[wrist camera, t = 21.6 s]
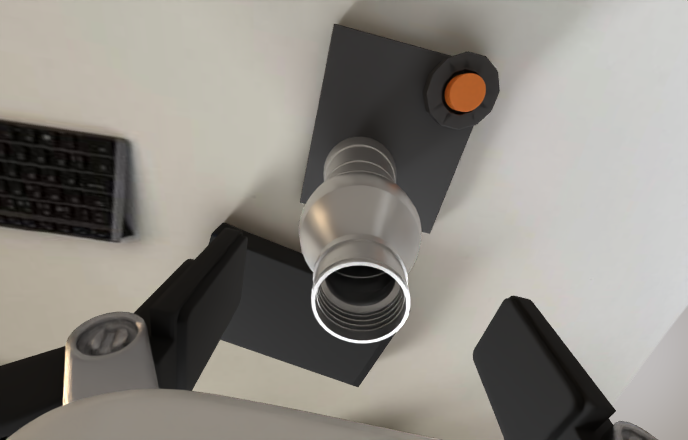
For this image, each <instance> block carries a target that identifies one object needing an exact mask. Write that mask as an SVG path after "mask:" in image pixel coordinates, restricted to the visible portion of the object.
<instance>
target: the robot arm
mask: <svg viewBox="0 0 688 440" xmlns="http://www.w3.org/2000/svg"><path fill="white" fill-rule="evenodd" d="M247 242H248V238H247V237H245V236H243V232H242V231H238V230H234V229H230V228H224V229H223V230H222V231H221V233H220V234H219V235H218V236H217V237H216V238H215V239H214V240H213V241H212V242H211V243H210V244H209V245H208V246H207V247H206V248H205V250H204V251H203V252H202V253H201V254H200V255H199V256H198V257H197V258H196V259H195V260H193V259H188V260H186V261H185V262H184V263H183V264H182V265H181V266H180V267H179V268H178V269H177V270H176V271H175V272H174V273H173V274H172V275H171V276H170V277H169V278H168V279H167V280H166V281H165V282H164V283H163V284H162V285H161V286H160V287H159V288H158V289H157V290H156V291H155V292H154V293H153V294H152V295H151V296H150V297H149V298H148V299H147V300H146V301H145V302H144V303H143V304H142V305H141V306H140V307H139V308H138V309H137V310H136V311H135V312H134V313H130V312H112V313H106V314H103V315H99V316H96V317H94V318H92V319H90V320H88V321H86V322H84V323H83V324H81V325H80V326H79V327H77V328H76V329H75V330H74V331H73V332H72V333H71V335H70V336H69V337H68V340H67V343H66V346H64V347H61V348H58V349H54V350H51V351H48V352H44V353H41V354H38V355H35V356H31V357H28V358H25V359H22V360H18V361H15V362H12V363H9V364H5V365H2V366H0V440H441V439H436V438H431V437H427V436H422V435H417V434H412V433H408V432H403V431H398V430H393V429H388V428H384V427H379V426H374V425H369V424H365V423H360V422H355V421H350V420H345V419H340V418H335V417H330V416H325V415H320V414H316V413H311V412H306V411H301V410H296V409H291V408H286V407H281V406H276V405H271V404H266V403H260V402H255V401H250V400H244V399H239V398H233V397H228V396H223V395H217V394H210V393H203V392H196V391H192V389H193V388H194V386H195V384H196V382H197V380H198V379H199V377H200V375H201V373H202V371H203V369H204V368H205V366H206V364H207V362H208V360H209V359H210V357H211V355H212V353H213V351H214V350H215V348H216V346H217V344H218V342H219V341H220V339H221V337H222V335H223V333H224V332H225V330H226V328H227V326H228V324H229V323H230V321H231V319H232V317H233V315H234V314H235V312H236V310H237V308H238V306H239V304H240V300H241V295H242V286H243V277H244V268H245V260H246V251H247ZM473 360H474V363H475V365H476V368H477V370H478V373H479V376H480V378H481V381H482V383H483V386H484V388H485V391H486V393H487V396H488V398H489V401H490V403H491V406H492V409H493V411H494V414H495V416H496V419H497V421H498V424H499V426H500V429H501V431H502V434H503V436H504V439H505V440H657V439H656V438H655V437H654V436H652V435H651V434H649V433H648V432H647V431H645V430H643V429H642V428H640V427H638V426H637V425H634V424H632V423H629V422H624V421H619V422H616V423H615V424H614V425H613V424H612V423H611V421H610V420H609V417H610V416H611V415H612V414H613V413H614V412H615V411H616V410H615V409H614V408H613V406H612V405H611V404H610V403H609V401H608V400H607V399H606V397H605V396H604V395H603V393H602V392H601V391H600V389H599V388H598V387H597V386H596V384H595V383H594V382H593V380H592V379H591V378H590V376H589V375H588V374H587V372H586V371H585V370H584V369H583V367H582V366H581V365H580V363H579V362H578V361H577V359H576V358H575V357H574V356H573V354H572V353H571V352H570V350H569V349H568V348H567V346H566V345H565V344H564V342H563V341H562V340H561V339H560V337H559V336H558V335H557V333H556V332H555V331H554V329H553V328H552V327H551V325H550V324H549V323H548V322H547V320H546V319H545V318H544V316H543V315H542V314H541V312H540V311H539V310H538V308H537V307H536V306H535V305H534V303H533V302H532V301H531V300H529V299H526V298H521V297H517V296H511V297H509V298H508V299H505V300H504V301H503V302H502V304H501V306H500V307H499V309H498V311H497V312H496V314H495V316H494V317H493V319H492V321H491V322H490V324H489V326H488V327H487V329H486V331H485V332H484V334H483V336H482V337H481V339H480V341H479V342H478V344H477V346H476V347H475V349H474V351H473Z"/></svg>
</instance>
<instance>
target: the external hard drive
mask: <svg viewBox="0 0 688 440" xmlns="http://www.w3.org/2000/svg"><path fill="white" fill-rule="evenodd" d="M224 228H230V229H234V230H238V231H242V232H243V236H245V237H247V238H248V242H247V251H246V260H245V268H244V277H243V286H242V295H241V300H240V304H239V306H238V308H237V310H236V312H235V314H234V315H233V317H232V319H231V321H230V323H229V324H228V326H227V328H226V330H225V332H224V333H223V335H222V337H221V339H220V340H223V341H226V342H229V343H232V344H235V345H238V346H240V347H243V348H246V349H249V350H252V351H255V352H258V353H261V354H264V355H266V356H269V357H272V358H275V359H278V360H281V361H284V362H287V363H290V364H292V365H295V366H298V367H301V368H304V369H307V370H310V371H313V372H316V373H318V374H321V375H324V376H327V377H330V378H333V379H336V380H339V381H342V382H344V383H347V384H350V385H353V386H356V387H359V385H360V384H361V383H362V381H363V380H364V378H365V377H366V375H367V374H368V372H369V371H370V369H371V368H372V367H373V365H374V364H375V362H376V361H377V359H378V358H379V356H380V355H381V353H382V352H383V351H384V349H385V348H386V346H387V345H388V343H389V342H390V340H391V339H392V337H393V336H394V335H395V333H394V334H393V335H391V336H390V337H388V338H386V339H383V340H380V341H377V342H372V343H354V342H348V341H345V340H342V339H339V338H337V337H335V336H333V335H332V334H330V333H329V332H328V331H326V330H325V329H324V328H323V327H322V326H321V325H320V324H319V322H318V320H317V319H316V317H315V315H314V312H313V310H312V303H311V294H312V287H313V271H312V270H311V269H310V267H309V266H308V264H307V262H306V261H305V258H304V256H303V254H301V253H299V252H296V251H294V250H291V249H289V248H286V247H283V246H281V245H278V244H276V243H273V242H271V241H268V240H266V239H263V238H261V237H258V236H256V235H253V234H251V233H248V232H246V231H243V230H241V229H238V228H236V227H233V226H230V225H228V224H226V223H222V224H221V225H220V226H219V227H218V228H217V229H216V230H215V231H214V232H213V233H212V235H211V238H210V242H209V244H210V243H211V242H212V241H213V240H214V239H215V238H216V237H217V236H218V235H219V234H220V233H221V231H222V230H223V229H224ZM409 313H410V311H409Z"/></svg>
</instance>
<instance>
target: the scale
mask: <svg viewBox="0 0 688 440" xmlns="http://www.w3.org/2000/svg"><path fill="white" fill-rule="evenodd" d="M466 73H474V74H477V75H479V76H480V77H481V78H482V79H483V80H484V82H485V86H486V93H485V97H484V99H483V101H482V102H481V104H480V105H479V106H478V107H477V108H475V109H474V110H471V111H468V112H461V111H457V110H453V109H451V108H450V107H449V106H448V105H447V103H446V101H445V96H444V94H445V89H446V86H447V84H448V83H449V81H450V80H451V79H452V78H454V77H455V76H457V75H460V74H466ZM499 91H500V90H499V78H498V71H497V70H496V68H495V67H494V66H493V65H492V63H491V62H490V61H489V59H488V58H487V57H486V56H482V55H479V54H475V53H472V52H465V53H462V54H458V55H455V56H450V55H446V54H442V53H439V52H435V51H432V50H428V49H424V48H421V47H417V46H413V45H410V44H406V43H402V42H399V41H395V40H392V39H388V38H384V37H381V36H377V35H373V34H370V33H366V32H362V31H359V30H355V29H352V28H348V27H344V26H341V25H337V24H334V27H333V32H332V37H331V43H330V48H329V53H328V58H327V63H326V69H325V74H324V79H323V84H322V90H321V95H320V100H319V105H318V110H317V116H316V121H315V126H314V131H313V137H312V142H311V147H310V152H309V157H308V163H307V168H306V173H305V178H304V184H303V189H302V194H301V199H300V203H304V204H306V203H307V201H308V199H309V198H310V196H311V195H312V194H313V193H314V191H315V190H316V189H317V188H318V187H319V186H320V185H321V184H322V183H323V182H324V174H323V172H324V164H325V161H326V158H327V156H328V154H329V153H330V151H331V150H332V149H333V148H334V147H335V146H336V145H337V144H338V143H340V142H341V141H343V140H345V139H348V138H352V137H367V138H371V139H373V140H376V141H378V142H379V143H381V144H382V145H383V146H384V147H385V148H386V149H387V150H388V151H389V152H390V154H391V155H392V157H393V159H394V162H395V166H396V184H397V185H398V186H399V187H400V188H401V189H402V190H403V191H404V192H405V193H406V194H407V196H408V197H409V199H410V200H411V202H412V203H413V205H414V206H415V208H416V210H417V213H418V215H419V218H420V223H421V229H422V232H425V233H430V232H431V230H432V227H433V225H434V222H435V220H436V217H437V215H438V212H439V210H440V207H441V205H442V202H443V200H444V197H445V195H446V192H447V190H448V187H449V185H450V183H451V180H452V178H453V175H454V173H455V170H456V168H457V165H458V163H459V160H460V158H461V155H462V153H463V150H464V148H465V145H466V143H467V141H468V138H469V136H470V133H471V131H472V128H473V126H474V125H476V124H478V123H479V122H480V121H481V120H482V119H483V118H484V117H485V116H486V115H488V114H489V113H490V112H491V110H492V108H493V106H494V104H495V101H496V99H497V96H498V94H499Z"/></svg>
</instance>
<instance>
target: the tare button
mask: <svg viewBox="0 0 688 440" xmlns="http://www.w3.org/2000/svg"><path fill="white" fill-rule="evenodd" d="M485 93H486V86H485V82H484V80H483V79H482V78H481V77H480V76H479V75H477V74H474V73H466V74H460V75H457V76H455V77H454V78H452V79H451V80H450V81H449V83H448V84H447V86H446V89H445V94H444V96H445V101H446V103H447V105H448V106H449V107H450V108H451V109H453V110H457V111H461V112H468V111H471V110H474V109H475V108H477V107H478V106H479V105H480V104H481V102H482V101H483V99H484V97H485Z"/></svg>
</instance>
